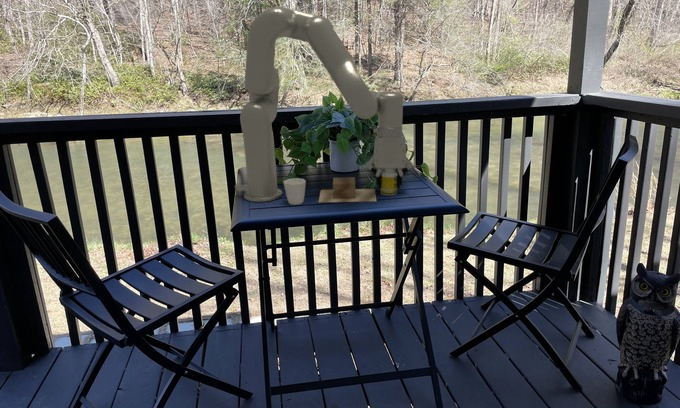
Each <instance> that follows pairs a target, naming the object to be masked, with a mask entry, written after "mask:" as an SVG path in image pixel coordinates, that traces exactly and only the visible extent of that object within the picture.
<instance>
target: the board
mask: <svg viewBox="0 0 680 408" xmlns="http://www.w3.org/2000/svg"><path fill="white" fill-rule="evenodd" d="M354 202H355V203H356V202H357V203H362V202H377V196H376V189H375V188H355V199H333V189H321V190H320V193H319V198H318V203H354Z"/></svg>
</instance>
